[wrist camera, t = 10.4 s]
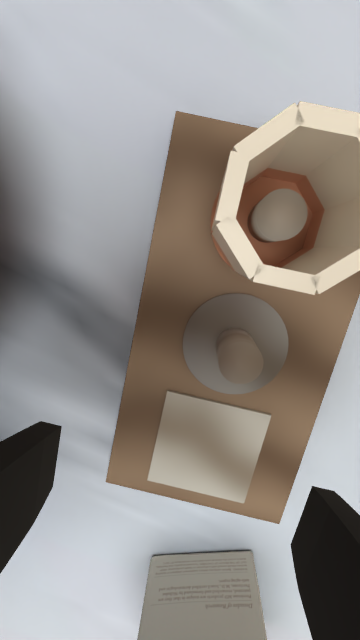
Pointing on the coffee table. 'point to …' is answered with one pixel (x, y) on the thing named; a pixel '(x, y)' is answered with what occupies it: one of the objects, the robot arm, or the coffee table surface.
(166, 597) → the supplement box
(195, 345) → the pin board
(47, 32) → the coffee table surface
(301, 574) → the robot arm
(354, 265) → the sleeve
